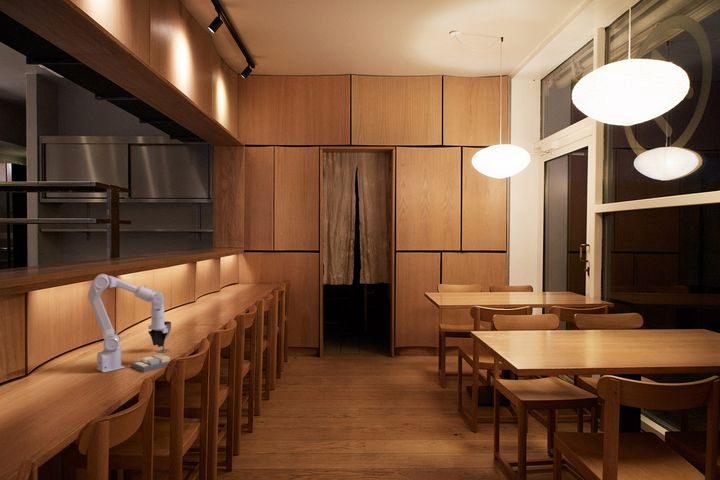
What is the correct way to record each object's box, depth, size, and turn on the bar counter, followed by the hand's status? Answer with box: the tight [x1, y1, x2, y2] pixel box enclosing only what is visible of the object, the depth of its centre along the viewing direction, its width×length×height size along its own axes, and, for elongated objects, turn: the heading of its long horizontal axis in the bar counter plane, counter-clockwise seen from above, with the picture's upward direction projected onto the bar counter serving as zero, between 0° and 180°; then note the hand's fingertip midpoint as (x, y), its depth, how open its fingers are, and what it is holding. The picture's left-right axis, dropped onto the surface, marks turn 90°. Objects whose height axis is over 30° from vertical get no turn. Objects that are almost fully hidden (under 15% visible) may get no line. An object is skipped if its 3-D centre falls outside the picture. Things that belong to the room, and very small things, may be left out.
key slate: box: [147, 358, 159, 365], centre depth 211 cm, size 4×4×2 cm
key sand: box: [158, 355, 171, 363], centre depth 215 cm, size 4×4×2 cm
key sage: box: [151, 353, 165, 359], centre depth 218 cm, size 4×4×2 cm
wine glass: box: [155, 320, 172, 354], centre depth 239 cm, size 8×8×15 cm
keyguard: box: [130, 358, 173, 373], centre depth 214 cm, size 15×12×2 cm
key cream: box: [140, 355, 154, 363], centre depth 214 cm, size 4×4×2 cm
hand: (158, 345), depth 218 cm, fingers open, 4 cm apart
